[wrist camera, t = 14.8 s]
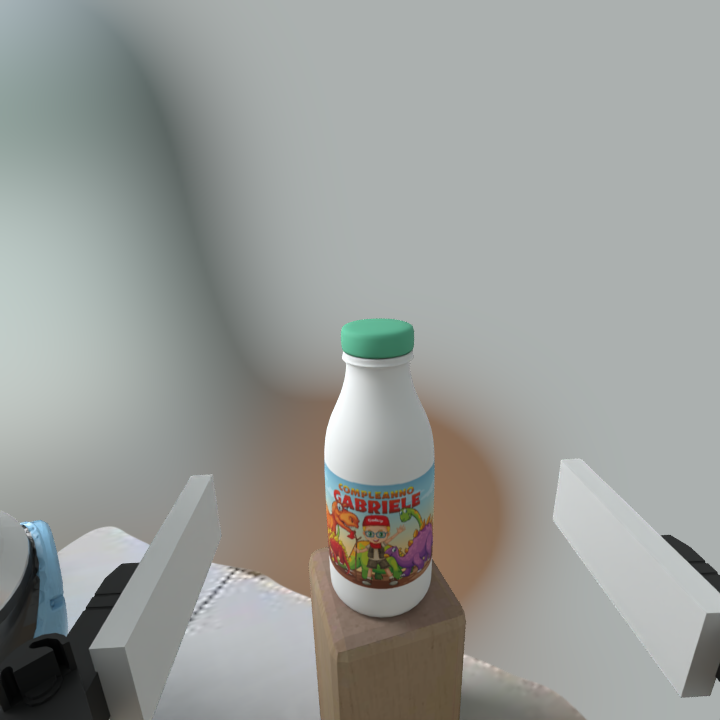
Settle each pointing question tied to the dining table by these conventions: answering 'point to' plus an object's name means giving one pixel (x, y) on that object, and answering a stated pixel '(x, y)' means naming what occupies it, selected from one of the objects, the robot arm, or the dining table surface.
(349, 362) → the milk bottle
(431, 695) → the wooden block
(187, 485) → the robot arm
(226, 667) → the dining table surface
